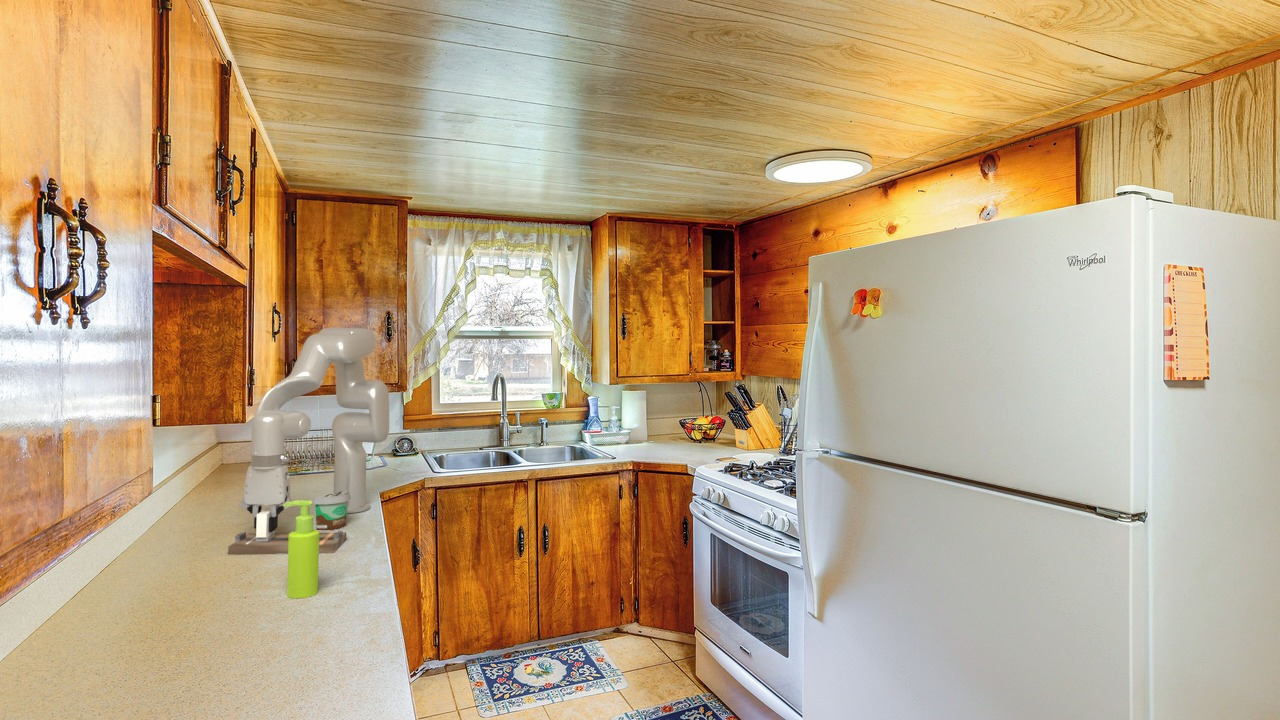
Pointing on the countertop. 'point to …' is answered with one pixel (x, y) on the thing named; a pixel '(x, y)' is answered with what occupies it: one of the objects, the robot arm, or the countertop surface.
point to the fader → (263, 526)
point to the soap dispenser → (303, 554)
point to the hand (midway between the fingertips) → (265, 530)
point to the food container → (332, 510)
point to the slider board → (282, 543)
